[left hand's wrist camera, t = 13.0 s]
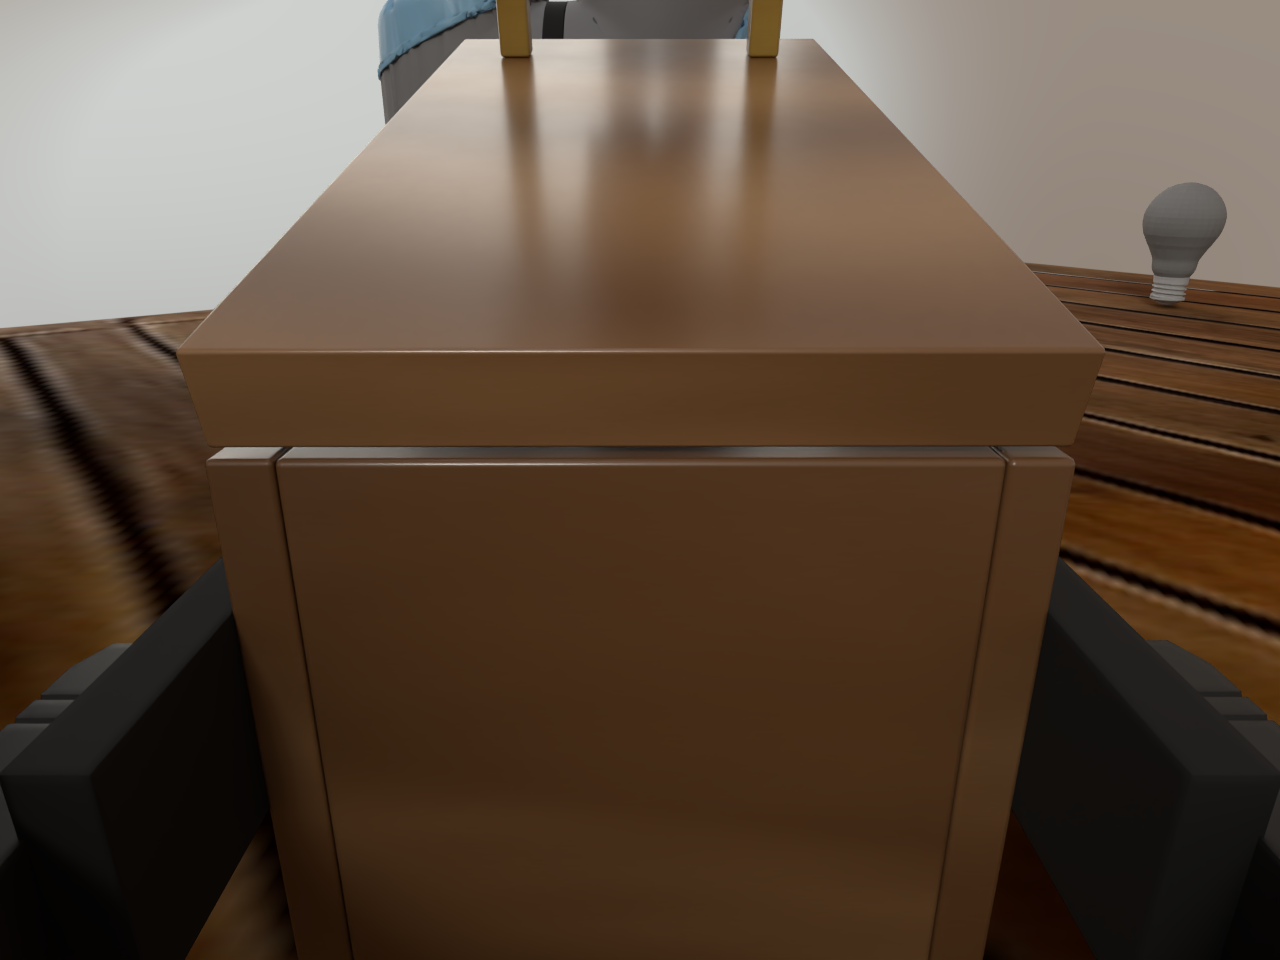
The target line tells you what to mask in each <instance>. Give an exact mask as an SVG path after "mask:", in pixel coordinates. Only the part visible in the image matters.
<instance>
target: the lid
mask: <svg viewBox="0 0 1280 960" xmlns="http://www.w3.org/2000/svg"><path fill="white" fill-rule="evenodd" d="M782 5H783V0H749V13H748V29H747V39H532V32H531V17H530V2H529V0H496V7H497V19H498V30H499V39H465V40H464V41H463V42H462V43H461V44H460V45H459V47H458V48H457V49H456V50H455V51H454V52H453V53H452V54H451V55H450V56H449V57H448V58H447V59H446V60H445V62H444V63H443V64H442V65H441V66H440V67H439V68H438V69H437V70H436V71H435V72H434V73H433V74H432V76H431V77H430V78H429V79H428V80H427V81H426V82H425V83H424V84H423V85H422V86H421V87H420V88H419V89H418V91H417V92H416V93H415V94H414V95H413V96H412V97H411V98H410V99H409V100H408V101H407V102H406V103H405V105H404V106H403V107H402V108H401V109H400V110H399V111H398V112H397V113H396V114H395V115H394V116H393V117H392V119H391V120H390V121H389V122H388V123H387V124H386V125H385V126H384V127H383V128H382V129H381V130H380V132H378V134H377V135H376V136H375V137H374V138H373V139H372V140H371V141H370V142H369V143H368V144H367V145H366V146H365V148H364V149H363V150H362V151H361V152H360V153H359V154H358V155H357V156H356V157H355V158H354V159H353V160H352V161H351V163H350V164H349V165H348V166H347V167H346V168H345V169H344V170H343V171H342V172H341V173H340V174H339V175H338V177H337V178H336V179H335V180H334V181H333V182H332V183H331V184H330V185H329V186H328V187H327V188H326V189H325V191H324V192H323V193H322V194H321V195H320V196H319V197H318V198H317V199H316V200H315V201H314V202H313V203H312V204H311V206H310V207H309V208H308V209H307V210H306V211H305V212H304V213H303V214H302V215H301V216H300V218H298V220H297V221H296V222H295V223H294V224H293V225H292V226H291V227H290V228H289V229H288V230H287V231H286V233H284V235H283V236H282V237H281V238H280V239H279V240H278V241H277V242H276V243H275V244H274V245H273V246H272V247H271V249H270V250H269V251H268V252H267V253H266V254H265V255H264V256H263V257H262V258H261V259H260V260H259V261H258V263H257V264H256V265H255V266H254V267H253V268H252V269H251V270H250V271H249V272H248V273H247V274H246V275H245V276H244V278H243V279H242V280H241V281H240V282H239V283H238V284H237V285H236V286H235V287H234V288H233V289H232V290H231V292H230V293H229V294H228V295H227V296H226V297H225V298H224V299H223V300H222V301H221V302H220V303H219V304H218V305H217V307H216V308H215V309H214V310H213V311H212V312H211V313H210V314H209V315H208V316H207V317H206V318H205V319H204V321H203V322H202V323H201V324H200V325H199V326H198V327H197V328H196V329H195V330H194V331H193V332H192V333H191V335H190V336H189V337H188V338H187V339H186V340H185V341H184V342H183V343H182V344H181V345H180V346H179V347H178V348H177V351H176V355H177V358H178V361H179V364H180V367H181V370H182V372H183V375H184V378H185V381H186V384H187V387H188V390H189V392H190V395H191V398H192V401H193V404H194V407H195V410H196V413H197V415H198V418H199V421H200V424H201V427H202V430H203V433H204V435H205V438H206V441H207V444H208V445H209V446H210V447H959V446H1071V445H1073V443H1074V441H1075V438H1076V435H1077V432H1078V429H1079V426H1080V424H1081V421H1082V418H1083V415H1084V412H1085V409H1086V406H1087V404H1088V401H1089V398H1090V395H1091V392H1092V389H1093V386H1094V383H1095V381H1096V378H1097V375H1098V372H1099V369H1100V366H1101V363H1102V361H1103V358H1104V355H1105V349H1104V347H1103V346H1102V345H1101V344H1100V343H1099V342H1098V341H1097V340H1096V339H1095V338H1094V337H1093V336H1092V335H1091V334H1090V333H1089V331H1088V330H1087V329H1086V328H1085V327H1084V326H1083V325H1082V324H1081V323H1080V322H1079V321H1078V320H1077V319H1076V318H1075V317H1074V315H1073V314H1072V313H1071V312H1070V311H1069V310H1068V309H1067V308H1066V307H1065V306H1064V305H1063V304H1062V303H1061V302H1060V301H1059V300H1058V298H1057V297H1056V296H1055V295H1054V294H1053V293H1052V292H1051V291H1050V290H1049V289H1048V288H1047V287H1046V286H1045V285H1044V284H1043V283H1042V281H1041V280H1040V279H1039V278H1038V277H1037V276H1036V275H1035V274H1034V273H1033V272H1032V271H1031V270H1030V269H1029V268H1028V267H1027V266H1026V264H1025V263H1024V262H1023V261H1022V260H1021V259H1020V258H1019V257H1018V256H1017V255H1016V254H1015V253H1014V252H1013V251H1012V250H1011V249H1010V247H1009V246H1008V245H1007V244H1006V243H1005V242H1004V241H1003V240H1002V239H1001V238H1000V237H999V236H998V235H997V234H996V233H995V231H994V230H993V229H992V228H991V227H990V226H989V225H988V224H987V223H986V222H985V221H984V220H983V219H982V218H981V217H980V216H979V214H978V213H977V212H976V211H975V210H974V209H973V208H972V207H971V206H970V205H969V204H968V203H967V202H966V201H965V200H964V199H963V197H962V196H961V195H960V194H959V193H958V192H957V191H956V190H955V189H954V188H953V187H952V186H951V185H950V184H949V183H948V182H947V180H946V179H945V178H944V177H943V176H942V175H941V174H940V173H939V172H938V171H937V170H936V169H935V168H934V167H933V166H932V165H931V163H930V162H929V161H928V160H927V159H926V158H925V157H924V156H923V155H922V154H921V153H920V152H919V151H918V150H917V149H916V148H915V146H914V145H913V144H912V143H911V142H910V141H909V140H908V139H907V138H906V137H905V136H904V135H903V134H902V133H901V132H900V130H899V129H898V128H897V127H896V126H895V125H894V124H893V123H892V122H891V121H890V120H889V119H888V118H887V117H886V116H885V115H884V113H883V112H882V111H881V110H880V109H879V108H878V107H877V106H876V105H875V104H874V103H873V102H872V101H871V100H870V99H869V98H868V96H867V95H866V94H865V93H864V92H863V91H862V90H861V89H860V88H859V87H858V86H857V85H856V84H855V83H854V82H853V81H852V79H851V78H850V77H849V76H848V75H847V74H846V73H845V72H844V71H843V70H842V69H841V68H840V67H839V66H838V65H837V64H836V62H835V61H834V60H833V59H832V58H831V57H830V56H829V55H828V54H827V53H826V52H825V51H824V50H823V49H822V48H821V47H820V45H819V44H818V43H817V42H816V41H815V40H814V39H780V29H781V17H782Z"/></svg>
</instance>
